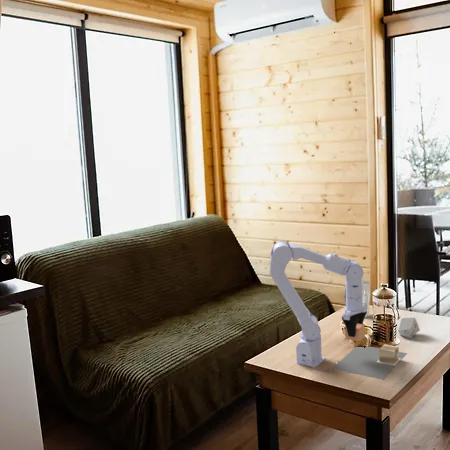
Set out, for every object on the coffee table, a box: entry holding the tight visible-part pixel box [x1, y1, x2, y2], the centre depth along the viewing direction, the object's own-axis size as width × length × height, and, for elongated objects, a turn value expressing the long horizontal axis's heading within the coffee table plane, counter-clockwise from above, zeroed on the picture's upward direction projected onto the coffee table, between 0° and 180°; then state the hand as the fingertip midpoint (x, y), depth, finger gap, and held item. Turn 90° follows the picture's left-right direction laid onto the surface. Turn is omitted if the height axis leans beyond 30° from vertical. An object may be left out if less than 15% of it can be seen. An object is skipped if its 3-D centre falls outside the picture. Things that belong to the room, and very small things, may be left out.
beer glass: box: [362, 279, 371, 319], centre depth 239 cm, size 7×7×15 cm
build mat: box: [331, 346, 408, 381], centre depth 193 cm, size 24×18×1 cm
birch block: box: [379, 344, 400, 364], centre depth 191 cm, size 5×5×4 cm
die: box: [395, 314, 421, 339], centre depth 214 cm, size 8×9×10 cm
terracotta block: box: [344, 323, 366, 342], centre depth 194 cm, size 5×5×4 cm
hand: (354, 333), depth 194 cm, fingers closed on terracotta block, 5 cm apart
